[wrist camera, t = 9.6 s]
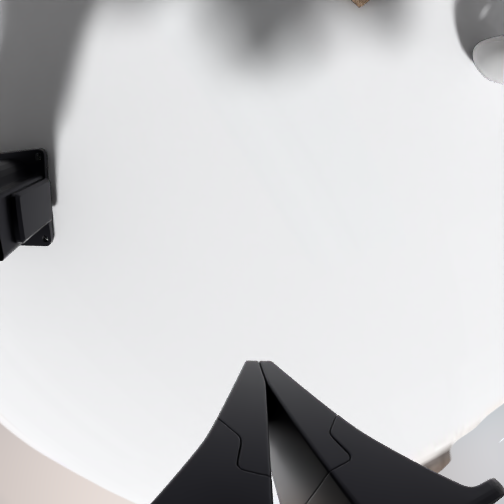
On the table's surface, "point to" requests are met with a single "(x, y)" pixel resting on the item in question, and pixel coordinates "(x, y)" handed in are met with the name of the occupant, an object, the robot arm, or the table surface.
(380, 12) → the table surface
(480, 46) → the donut
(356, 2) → the walnut trivet
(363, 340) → the table surface
